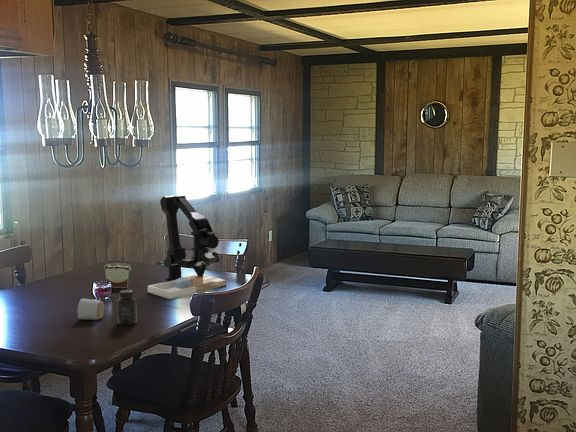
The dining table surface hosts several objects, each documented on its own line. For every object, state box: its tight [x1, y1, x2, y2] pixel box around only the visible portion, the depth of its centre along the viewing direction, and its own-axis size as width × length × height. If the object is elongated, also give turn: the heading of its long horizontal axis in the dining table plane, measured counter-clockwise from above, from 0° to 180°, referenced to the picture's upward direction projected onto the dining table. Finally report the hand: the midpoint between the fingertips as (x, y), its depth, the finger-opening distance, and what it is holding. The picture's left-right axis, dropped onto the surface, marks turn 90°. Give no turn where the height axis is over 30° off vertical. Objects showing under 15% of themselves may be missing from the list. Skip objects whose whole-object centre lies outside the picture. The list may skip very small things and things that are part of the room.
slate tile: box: [171, 276, 192, 289], centre depth 283 cm, size 6×6×2 cm
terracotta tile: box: [184, 274, 203, 285], centre depth 287 cm, size 6×6×2 cm
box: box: [147, 280, 197, 300], centre depth 279 cm, size 16×14×3 cm
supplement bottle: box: [116, 289, 138, 326], centre depth 235 cm, size 7×7×12 cm
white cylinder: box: [77, 298, 105, 321], centre depth 242 cm, size 11×8×8 cm
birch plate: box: [183, 275, 227, 293], centre depth 291 cm, size 14×18×2 cm
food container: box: [103, 262, 132, 289], centre depth 291 cm, size 12×6×10 cm, turn 84°
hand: (200, 279), depth 290 cm, fingers closed
